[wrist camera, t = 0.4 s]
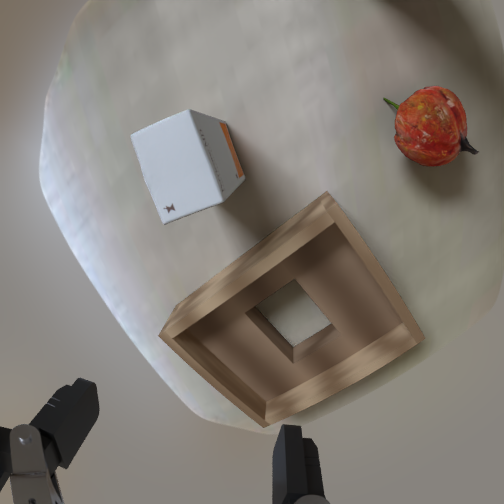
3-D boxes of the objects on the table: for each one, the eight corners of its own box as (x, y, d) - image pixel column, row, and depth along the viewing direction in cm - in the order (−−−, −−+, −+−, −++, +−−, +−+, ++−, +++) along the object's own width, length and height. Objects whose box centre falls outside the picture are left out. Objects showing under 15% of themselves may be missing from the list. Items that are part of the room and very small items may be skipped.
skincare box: (247, 178, 29) (226, 205, 18) (205, 193, 30) (161, 228, 19) (225, 118, 28) (189, 106, 16) (183, 134, 28) (125, 136, 17)
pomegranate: (366, 140, 29) (444, 204, 25) (351, 97, 23) (452, 170, 18) (409, 95, 28) (486, 151, 23) (402, 47, 21) (500, 108, 17)
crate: (326, 190, 29) (337, 204, 23) (406, 308, 32) (425, 338, 27) (176, 305, 35) (158, 335, 29) (266, 392, 38) (263, 427, 33)
